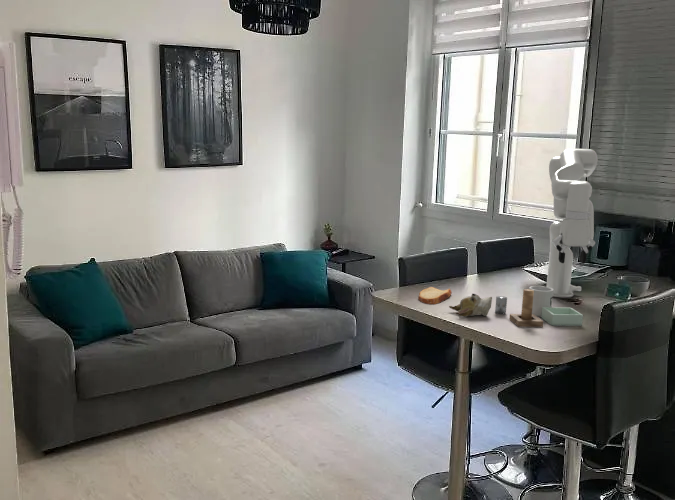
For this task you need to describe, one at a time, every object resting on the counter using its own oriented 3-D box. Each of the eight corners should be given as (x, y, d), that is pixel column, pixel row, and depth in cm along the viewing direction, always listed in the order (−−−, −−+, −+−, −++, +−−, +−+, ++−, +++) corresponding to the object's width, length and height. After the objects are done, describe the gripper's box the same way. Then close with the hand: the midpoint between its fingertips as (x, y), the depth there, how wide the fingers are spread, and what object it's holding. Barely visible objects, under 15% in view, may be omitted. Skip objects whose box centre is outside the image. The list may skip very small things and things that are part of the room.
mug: (553, 318, 244) (555, 292, 242) (527, 316, 245) (530, 290, 244) (548, 309, 256) (551, 284, 254) (524, 307, 257) (526, 283, 256)
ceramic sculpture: (496, 296, 238) (455, 298, 237) (496, 319, 239) (455, 321, 238) (487, 289, 248) (448, 291, 247) (487, 311, 250) (448, 313, 249)
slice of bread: (426, 305, 257) (427, 296, 256) (406, 294, 274) (406, 285, 273) (466, 302, 263) (467, 293, 263) (444, 292, 280) (444, 283, 279)
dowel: (528, 321, 238) (531, 289, 236) (532, 324, 235) (535, 291, 233) (519, 321, 238) (521, 289, 236) (522, 324, 235) (525, 291, 232)
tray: (569, 317, 245) (570, 307, 244) (581, 325, 235) (583, 315, 235) (541, 317, 244) (542, 307, 243) (552, 325, 234) (553, 314, 234)
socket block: (533, 319, 241) (533, 314, 241) (542, 326, 232) (543, 321, 232) (509, 319, 240) (509, 314, 240) (518, 326, 232) (518, 321, 231)
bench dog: (503, 311, 251) (505, 296, 250) (507, 314, 247) (508, 298, 246) (493, 311, 251) (494, 296, 249) (496, 314, 247) (498, 298, 246)
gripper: (594, 215, 249) (589, 261, 252) (549, 214, 247) (545, 260, 250) (603, 217, 241) (598, 265, 245) (558, 216, 240) (553, 264, 243)
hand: (571, 262), depth 248 cm, fingers open, 7 cm apart
